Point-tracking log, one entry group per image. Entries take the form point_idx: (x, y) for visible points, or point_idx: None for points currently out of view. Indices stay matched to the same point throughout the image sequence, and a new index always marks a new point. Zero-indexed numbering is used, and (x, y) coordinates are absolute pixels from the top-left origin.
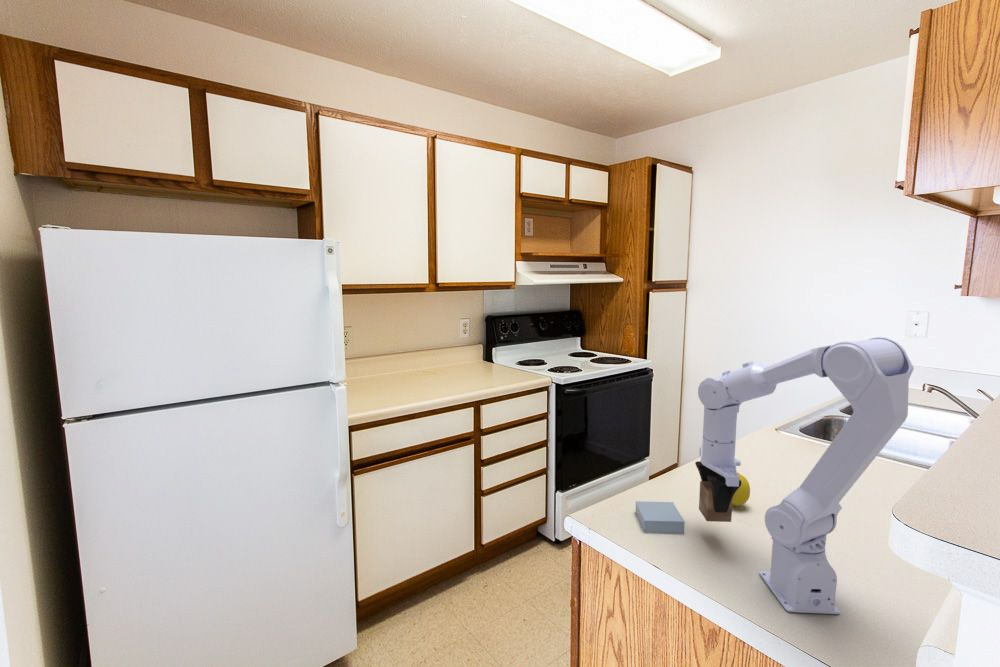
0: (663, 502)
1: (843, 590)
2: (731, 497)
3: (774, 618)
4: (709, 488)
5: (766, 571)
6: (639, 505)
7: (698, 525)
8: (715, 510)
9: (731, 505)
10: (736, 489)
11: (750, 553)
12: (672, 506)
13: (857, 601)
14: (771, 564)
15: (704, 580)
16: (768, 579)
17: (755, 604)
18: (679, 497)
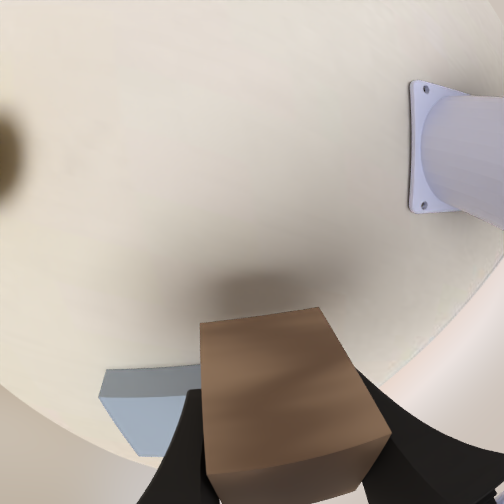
0: (113, 416)
1: (439, 32)
2: (415, 420)
3: (493, 235)
4: (321, 496)
5: (415, 192)
6: (158, 454)
7: (154, 318)
8: None
9: (353, 368)
10: (471, 448)
11: (313, 192)
12: (128, 404)
13: (462, 36)
14: (481, 219)
15: (407, 334)
16: (439, 203)
17: (471, 256)
18: (7, 328)
